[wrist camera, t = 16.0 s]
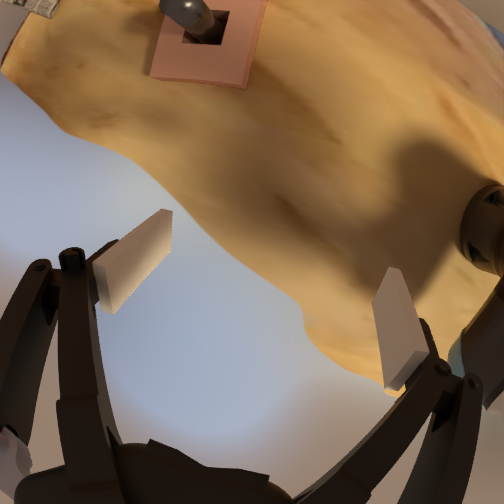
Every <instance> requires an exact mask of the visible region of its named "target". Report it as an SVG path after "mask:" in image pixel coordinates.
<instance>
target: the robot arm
mask: <svg viewBox="0 0 504 504" xmlns="http://www.w3.org/2000/svg"><path fill="white" fill-rule="evenodd" d="M171 233H172V211H169V210H165V209H160V210H159V211H158V212H156V213H155V214H154V215H152V216H151V217H150V218H148V219H147V220H145V221H144V222H143V223H142V224H140V225H139V226H137V227H136V228H135V229H133V230H132V231H131V232H130V233H128V234H127V235H126V236H125V237H123V238H122V239H121V240H117V239H116V240H113V241H111V242H108V243H107V244H106V245H104V246H103V247H102V248H100V249H99V250H98V251H97V252H95V253H94V254H93V255H92V256H90V257H89V258H88V259H87V260H86V259H85V253H84V250H83V249H81V248H78V247H71V248H67V249H65V250H63V251H62V252H61V253H60V254H59V256H58V257H59V262H60V266H61V269H53V268H52V265H51V262H50V261H49V260H48V259H38V260H35V261H34V262H32V263H31V264H30V266H29V267H28V269H27V270H26V272H25V274H24V275H23V277H22V279H21V281H20V282H19V284H18V286H17V288H16V290H15V292H14V294H13V295H12V297H11V299H10V301H9V303H8V305H7V307H6V309H5V311H4V313H3V316H2V318H1V319H0V490H2V491H3V492H4V493H5V494H7V495H8V496H9V497H10V498H12V499H13V500H14V504H366V502H367V501H368V500H369V499H370V497H371V491H372V490H373V489H374V488H375V487H376V485H377V484H378V483H379V482H380V481H381V480H382V479H383V478H384V476H385V475H386V474H387V473H388V472H389V470H390V469H391V468H392V467H393V466H394V464H395V463H396V461H398V459H399V458H400V457H401V455H402V454H403V453H404V451H405V450H406V449H407V447H408V446H409V445H410V443H411V442H412V440H413V439H414V438H415V436H416V434H417V433H418V432H419V430H420V429H421V427H422V426H423V424H424V423H425V421H426V420H427V418H428V416H429V415H430V413H431V412H432V415H431V419H430V422H429V426H428V429H427V432H426V435H425V438H424V441H423V444H422V447H421V449H420V452H419V455H418V457H417V460H416V463H415V465H414V468H413V470H412V472H411V475H410V477H409V479H408V482H407V484H406V486H405V489H404V490H403V493H402V495H401V497H400V499H399V501H398V503H397V504H462V501H463V498H464V495H465V492H466V488H467V485H468V481H469V477H470V473H471V469H472V464H473V460H474V456H475V451H476V445H477V440H478V433H479V427H480V419H481V410H482V407H483V406H484V407H485V409H486V411H487V412H488V413H498V414H501V415H502V417H503V418H504V187H501V186H498V185H491V186H487V187H485V188H483V189H482V190H480V191H479V192H478V193H477V194H476V195H475V196H474V197H473V198H472V200H471V201H470V203H469V204H468V206H467V208H466V211H465V213H464V216H463V219H462V223H461V230H460V241H461V247H462V250H463V253H464V255H465V257H466V258H467V259H468V260H469V261H470V262H471V263H472V264H473V265H474V266H475V267H476V268H478V269H480V270H482V271H485V272H488V273H492V274H495V275H498V276H499V277H501V279H500V280H499V282H498V284H497V285H496V287H495V288H494V290H493V291H492V293H491V294H490V296H489V297H488V299H487V300H486V301H485V303H484V304H483V306H482V307H481V308H480V310H479V311H478V312H477V314H476V315H475V316H474V318H473V319H472V320H471V321H470V323H469V324H468V325H467V326H466V327H465V328H464V329H463V330H462V331H461V334H460V336H459V337H458V339H457V340H456V341H455V342H454V344H453V345H452V346H451V348H450V350H449V353H448V361H447V362H448V363H447V362H446V361H444V360H443V359H441V358H439V355H438V351H437V348H436V345H435V342H434V340H433V336H432V334H431V331H430V328H429V325H428V324H427V323H426V321H425V320H424V319H422V318H418V315H417V312H416V309H415V307H414V304H413V301H412V298H411V296H410V293H409V291H408V288H407V285H406V283H405V280H404V278H403V275H402V273H401V271H400V269H397V268H393V267H390V266H389V267H388V270H387V272H386V274H385V276H384V278H383V281H382V283H381V285H380V287H379V289H378V291H377V293H376V295H375V297H374V299H373V301H372V307H373V312H374V318H375V324H376V329H377V336H378V342H379V349H380V355H381V363H382V371H383V379H384V388H385V389H386V390H394V391H399V389H400V388H401V387H402V386H403V385H404V384H405V387H406V391H405V392H404V393H403V394H402V395H401V396H400V397H399V398H398V399H397V401H396V402H395V404H394V405H393V406H392V407H391V409H390V410H389V411H388V412H387V413H386V414H385V415H384V417H383V418H382V419H381V420H380V421H379V422H378V423H377V424H376V426H375V427H374V428H373V429H372V430H371V431H370V432H369V433H368V434H367V435H366V436H365V437H364V438H363V439H362V440H361V441H360V442H359V443H358V444H357V445H356V446H355V447H354V448H353V449H352V450H351V451H350V452H349V453H348V454H347V455H346V456H345V457H344V458H343V459H342V460H340V462H338V463H337V464H336V465H335V466H334V467H333V468H332V469H331V470H329V471H328V472H327V473H326V474H325V475H323V476H322V477H321V478H320V479H319V480H317V481H316V482H315V483H314V484H312V485H311V486H310V487H309V488H307V489H306V490H304V491H303V492H301V493H300V494H299V495H297V496H296V497H294V498H293V499H292V498H291V497H290V496H289V495H288V494H287V493H286V492H285V491H284V490H283V489H281V488H280V487H279V486H277V485H275V484H273V483H271V482H269V481H268V480H269V475H266V474H261V473H256V472H251V471H247V470H243V469H232V468H231V469H230V468H214V467H213V468H212V467H206V466H203V465H202V464H200V463H198V462H197V461H195V460H193V459H192V458H190V457H188V456H187V455H185V454H183V453H182V452H180V451H179V450H177V449H174V448H172V447H169V446H167V445H164V444H162V443H159V442H157V441H154V440H152V439H150V440H149V442H148V444H143V443H127V444H123V443H122V441H121V438H120V436H119V433H118V430H117V427H116V424H115V420H114V416H113V412H112V408H111V404H110V399H109V395H108V390H107V385H106V380H105V375H104V369H103V363H102V357H101V351H100V344H99V336H98V328H97V319H96V309H95V304H96V303H97V302H98V301H99V303H100V307H101V310H103V311H106V312H108V313H110V314H114V313H115V312H116V311H117V310H118V309H119V307H120V306H121V305H122V304H123V303H124V302H125V301H126V299H127V298H128V297H129V296H130V295H131V294H132V292H134V290H135V289H136V288H137V287H138V286H139V285H140V284H141V283H142V281H143V280H144V279H145V278H146V277H147V276H148V275H149V274H150V273H151V272H152V271H153V269H154V268H155V267H156V266H157V265H158V264H159V263H160V262H161V261H162V260H163V259H164V258H165V257H166V255H167V254H168V253H169V252H170V251H171V235H172V234H171ZM57 320H58V371H59V387H60V400H57V402H56V412H57V419H58V428H59V435H60V441H61V446H62V452H63V457H64V461H65V465H62V466H58V467H55V468H52V469H48V470H45V471H41V472H38V473H34V474H30V468H31V467H32V460H31V458H30V452H29V450H28V448H27V446H28V443H29V440H30V436H31V431H32V426H33V419H34V413H35V407H36V402H37V396H38V391H39V386H40V382H41V378H42V373H43V369H44V365H45V361H46V357H47V354H48V350H49V346H50V343H51V339H52V336H53V333H54V330H55V326H56V323H57Z"/></svg>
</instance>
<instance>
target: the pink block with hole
mask: <svg viewBox="0 0 504 504" xmlns="http://www.w3.org/2000/svg"><path fill="white" fill-rule="evenodd" d="M203 1H204V2H205V4H206V5H207V6H208V7H209V8H210V10H211V11H212V12H213V14H214V15H215V16H216V17H217V19H222V20H228V21H227V25H226V28H225V32H224V36H223V40H222V44H221V46H220V45H207V44H193V40H194V36H193V35H191V34H190V33H189V32H188V31H186V30H185V29H184V28H182V27H181V26H180V25H179V24H177V23H176V22H175V21H173V20H172V19H171V18H169V17H168V16H167V15H165V16H164V20H163V23H162V27H161V30H160V34H159V38H158V41H157V45H156V49H155V53H154V58H153V62H152V66H151V71H150V76H149V77H151V78H155V79H158V80H163V81H181V82H193V83H204V84H213V85H221V86H228V87H235V88H242V89H246V87H247V83H248V78H249V74H250V69H251V65H252V61H253V57H254V52H255V48H256V44H257V40H258V36H259V32H260V28H261V24H262V20H263V16H264V12H265V8H266V5H267V1H268V0H203Z"/></svg>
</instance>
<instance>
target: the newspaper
mask: <svg viewBox="0 0 504 504" xmlns="http://www.w3.org/2000/svg"><path fill="white" fill-rule="evenodd" d="M0 2H3V3H7V4H10V5H13V6H17V7H20V8H23V9H26V10H29V11H31V12H34V13H37V14H40V15H43V16H45V17H48V18H51V17H52V16H53V15H54V12H55V10H56V8H57V7H58V5H59V4H60V3H58V0H0Z"/></svg>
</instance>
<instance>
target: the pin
mask: <svg viewBox="0 0 504 504" xmlns="http://www.w3.org/2000/svg"><path fill="white" fill-rule="evenodd" d="M159 6H160V10H161V11H162V12H163V13H164V14H165V15H167V16H168V17H169V18H171V19H172V20H173V21H175V22H176V23H177V24H179V25H180V26H181V27H182V28H184V29H185V30H186V31H188V32H189V33H190V34H191V35H193V36H194V37H195V38H196V39H198V40H199V41H200V42H201V43H202V44H207V45H219V44H221V43H222V40H223V36H224V32H225V28H224V26H223V25H222V24H221V22H220V21H219V20H218V19H217V17H216V16H215V15H214V14H213V12H212V11H211V10H210V8H209V7H208V6H207V5H206V4H205V2H204V1H203V0H160V4H159Z"/></svg>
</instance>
